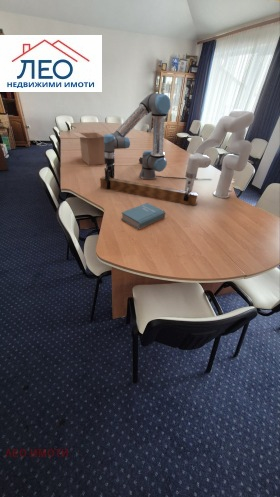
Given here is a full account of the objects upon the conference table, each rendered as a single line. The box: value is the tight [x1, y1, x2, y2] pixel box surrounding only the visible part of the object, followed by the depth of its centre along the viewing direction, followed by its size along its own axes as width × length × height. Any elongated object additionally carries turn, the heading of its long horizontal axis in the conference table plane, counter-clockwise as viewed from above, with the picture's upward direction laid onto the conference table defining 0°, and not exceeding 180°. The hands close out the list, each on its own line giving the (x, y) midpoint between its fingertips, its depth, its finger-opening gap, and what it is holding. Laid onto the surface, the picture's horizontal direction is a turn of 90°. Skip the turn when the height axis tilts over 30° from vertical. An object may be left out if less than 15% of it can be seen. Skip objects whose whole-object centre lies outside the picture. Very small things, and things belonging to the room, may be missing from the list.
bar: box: [99, 175, 199, 206], centre depth 170 cm, size 76×5×8 cm, turn 72°
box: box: [70, 129, 108, 166], centre depth 229 cm, size 44×36×27 cm
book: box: [121, 202, 166, 230], centre depth 139 cm, size 23×16×5 cm
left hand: (110, 187), depth 178 cm, fingers closed on bar, 5 cm apart
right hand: (186, 198), depth 164 cm, fingers open, 6 cm apart
